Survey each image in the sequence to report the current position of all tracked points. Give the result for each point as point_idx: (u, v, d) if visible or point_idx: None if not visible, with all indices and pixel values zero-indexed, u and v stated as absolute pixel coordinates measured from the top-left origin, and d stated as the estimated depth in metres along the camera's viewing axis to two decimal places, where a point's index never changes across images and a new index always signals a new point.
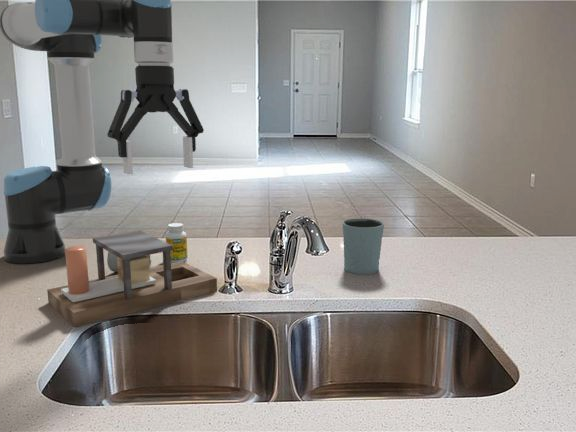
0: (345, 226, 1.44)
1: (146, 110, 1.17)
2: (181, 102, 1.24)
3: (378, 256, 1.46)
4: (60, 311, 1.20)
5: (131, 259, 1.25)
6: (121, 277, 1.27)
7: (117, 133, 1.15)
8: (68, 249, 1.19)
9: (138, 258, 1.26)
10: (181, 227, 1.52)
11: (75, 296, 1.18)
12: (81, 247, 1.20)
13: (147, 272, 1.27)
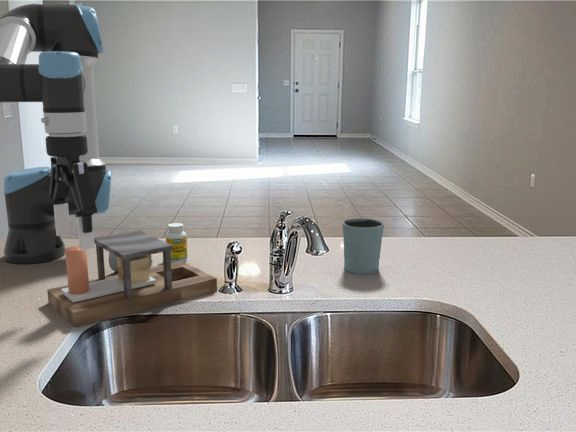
0: (345, 226, 1.44)
1: (55, 178, 1.17)
2: None
3: (378, 256, 1.46)
4: (60, 311, 1.20)
5: (131, 259, 1.25)
6: (121, 277, 1.27)
7: (50, 195, 1.23)
8: (68, 249, 1.19)
9: (138, 258, 1.26)
10: (181, 227, 1.52)
11: (75, 296, 1.18)
12: None
13: (147, 272, 1.27)
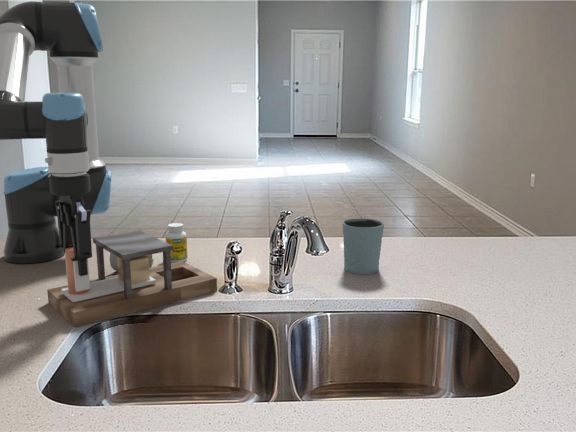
0: (345, 226, 1.44)
1: (61, 219, 1.18)
2: None
3: (378, 256, 1.46)
4: (60, 311, 1.20)
5: (131, 259, 1.25)
6: (121, 277, 1.27)
7: (61, 242, 1.22)
8: (68, 249, 1.19)
9: (138, 258, 1.26)
10: (181, 227, 1.52)
11: (75, 296, 1.18)
12: None
13: (147, 272, 1.27)
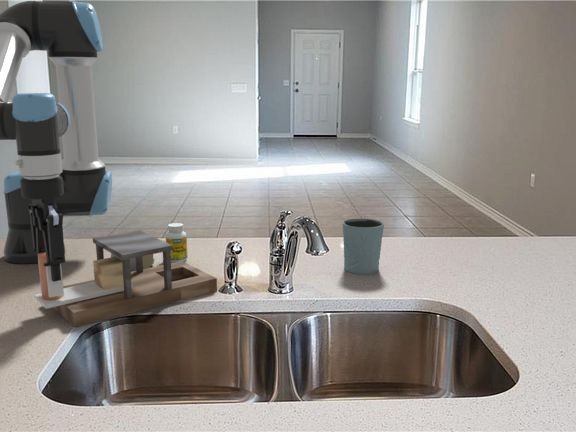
0: (345, 226, 1.44)
1: (34, 223, 1.15)
2: None
3: (378, 256, 1.46)
4: (60, 311, 1.20)
5: (107, 264, 1.22)
6: (97, 282, 1.24)
7: (34, 247, 1.19)
8: (41, 254, 1.15)
9: (115, 263, 1.23)
10: (181, 227, 1.52)
11: (48, 302, 1.15)
12: None
13: None
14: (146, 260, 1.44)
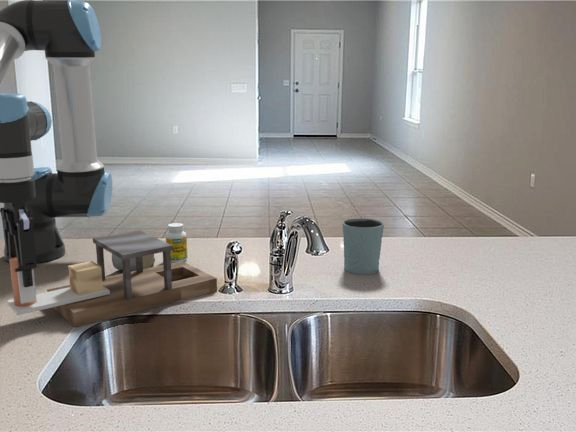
0: (345, 226, 1.44)
1: (5, 227, 1.11)
2: None
3: (378, 256, 1.46)
4: (60, 311, 1.20)
5: (82, 269, 1.19)
6: (72, 288, 1.21)
7: (7, 251, 1.15)
8: (13, 259, 1.12)
9: (90, 268, 1.20)
10: (181, 227, 1.52)
11: (20, 308, 1.12)
12: None
13: (99, 283, 1.21)
14: (147, 260, 1.45)
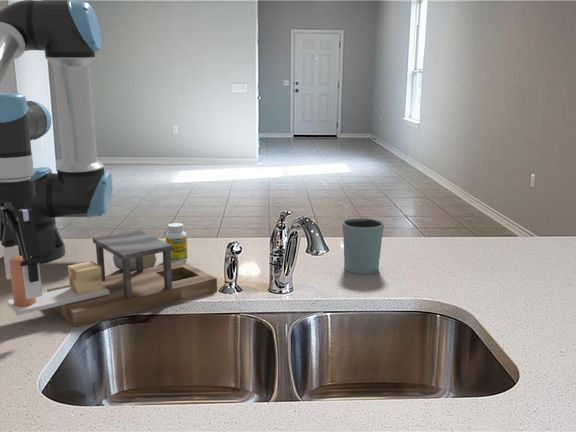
0: (345, 226, 1.44)
1: (3, 222, 1.12)
2: None
3: (378, 256, 1.46)
4: (60, 311, 1.20)
5: (82, 269, 1.19)
6: (72, 288, 1.21)
7: (0, 237, 1.18)
8: (12, 259, 1.12)
9: (90, 268, 1.20)
10: (181, 227, 1.52)
11: (20, 308, 1.12)
12: None
13: (99, 283, 1.21)
14: (148, 259, 1.45)
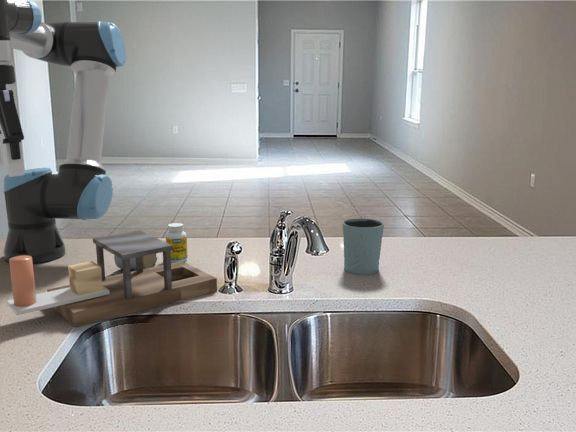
0: (345, 226, 1.44)
1: None
2: None
3: (378, 256, 1.46)
4: (60, 311, 1.20)
5: (82, 269, 1.19)
6: (72, 288, 1.21)
7: None
8: (12, 259, 1.12)
9: (90, 268, 1.20)
10: (181, 227, 1.52)
11: (20, 308, 1.12)
12: (27, 257, 1.14)
13: (99, 283, 1.21)
14: (149, 259, 1.45)
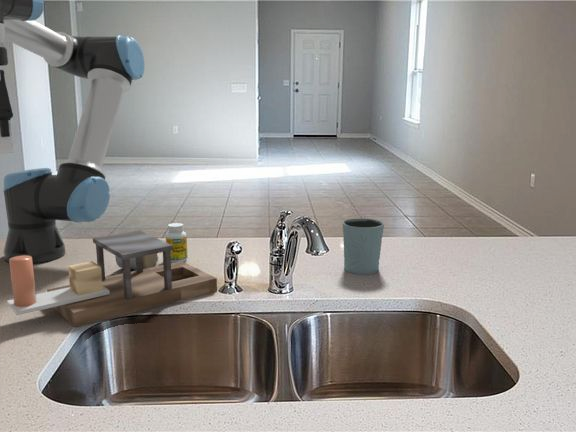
0: (345, 226, 1.44)
1: None
2: None
3: (378, 256, 1.46)
4: (60, 311, 1.20)
5: (82, 269, 1.19)
6: (72, 288, 1.21)
7: None
8: (12, 259, 1.12)
9: (90, 268, 1.20)
10: (181, 227, 1.52)
11: (20, 308, 1.12)
12: (27, 257, 1.14)
13: (99, 283, 1.21)
14: (150, 258, 1.46)
